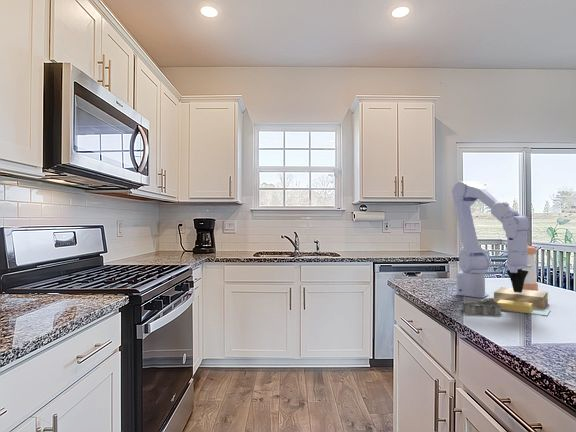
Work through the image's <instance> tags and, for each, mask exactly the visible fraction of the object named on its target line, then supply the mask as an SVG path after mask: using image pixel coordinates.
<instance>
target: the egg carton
mask: <svg viewBox="0 0 576 432" xmlns="http://www.w3.org/2000/svg"><path fill="white" fill-rule="evenodd" d="M460 303H461V310H462V311H465V313H466V314H471V315H476V314H482V315H487V314H492V315H496V316H498V315H500V314H502V310H501V307H502V306H501V305H499V304H497V302H496V301H495V300H494V297H492V298H490V297H488V298H486V297H485V298H483V300H477V301H471V300H470V301H466V302H465V301H460Z"/></svg>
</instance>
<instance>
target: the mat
mask: <svg viewBox="0 0 576 432" xmlns="http://www.w3.org/2000/svg"><path fill="white" fill-rule="evenodd" d="M501 311H507V312H514V313H522V314H529V315H536V316H541V317H542V316H543V317H548V316H549V314H550V313H551V309H547V308H544V309H539V308H533V310H532V311H531V312H530V313H525V312H518V311H510V310H503V309H501Z"/></svg>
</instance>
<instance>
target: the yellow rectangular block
mask: <svg viewBox="0 0 576 432" xmlns="http://www.w3.org/2000/svg"><path fill="white" fill-rule="evenodd" d="M497 304H499V305H501V306H502V307H501V309H503V310H502V311H505V310H510V311H509V312H512V311H518V312H517V313H520V312H525V313H524V314H527V313H530V312H531V311H532V310H533V303H527V302H518V301H510V300H501V299H500V300H499V301H498V302H497Z"/></svg>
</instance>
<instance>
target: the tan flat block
mask: <svg viewBox="0 0 576 432" xmlns="http://www.w3.org/2000/svg"><path fill="white" fill-rule="evenodd" d="M548 293H549V292H548V291H542V290H538V291H534V290H522V292H521V293H519V292H514V290H513V287H512V288H511V287H500V288H498V289H497V290H494V291H493V298H494V300H495V301H496V302H498V301H499V300H500V299H501V300H510V301H518V302H527V303H533V308H539V309H546V307H547V305H548V303H549V302H548V296H549V295H548Z"/></svg>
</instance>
